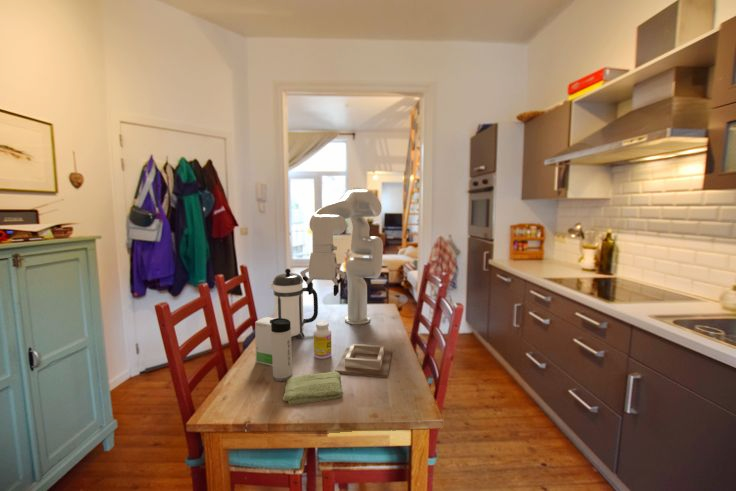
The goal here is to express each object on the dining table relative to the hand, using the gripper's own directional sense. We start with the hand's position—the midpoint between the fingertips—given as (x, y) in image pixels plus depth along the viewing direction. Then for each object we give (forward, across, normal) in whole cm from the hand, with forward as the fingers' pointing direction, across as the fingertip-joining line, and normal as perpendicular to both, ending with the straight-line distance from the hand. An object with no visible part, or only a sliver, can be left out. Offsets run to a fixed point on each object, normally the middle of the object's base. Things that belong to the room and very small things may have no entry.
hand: (323, 294), depth 122 cm
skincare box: (+24, +18, +7) cm, 31 cm away
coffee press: (+24, +19, -17) cm, 35 cm away
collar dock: (+24, -17, +3) cm, 29 cm away
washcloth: (+25, -4, +23) cm, 34 cm away
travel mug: (+25, +9, +17) cm, 31 cm away
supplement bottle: (+24, 0, 0) cm, 24 cm away
